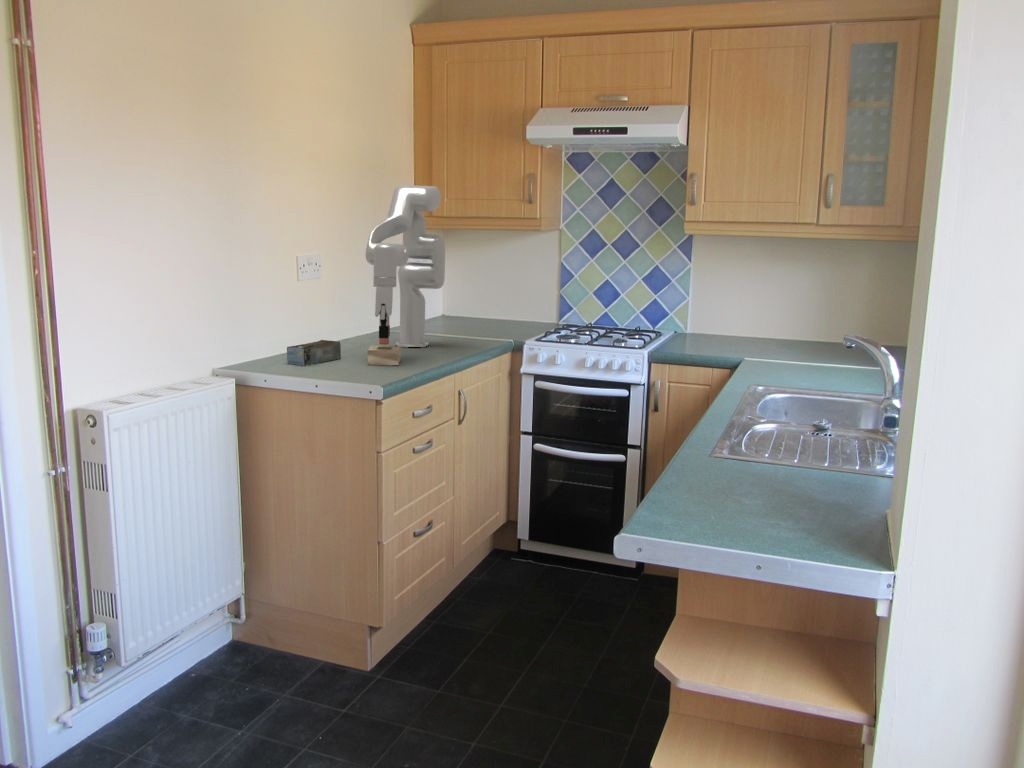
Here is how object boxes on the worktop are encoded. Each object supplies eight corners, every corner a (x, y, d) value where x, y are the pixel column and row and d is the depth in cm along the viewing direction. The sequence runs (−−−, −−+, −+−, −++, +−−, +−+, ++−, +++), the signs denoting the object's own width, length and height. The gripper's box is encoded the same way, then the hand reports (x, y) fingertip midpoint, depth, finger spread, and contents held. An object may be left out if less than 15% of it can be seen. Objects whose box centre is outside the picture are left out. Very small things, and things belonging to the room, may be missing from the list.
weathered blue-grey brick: (285, 364, 282) (285, 344, 281) (323, 357, 299) (323, 338, 297) (304, 367, 278) (303, 347, 277) (342, 359, 295) (342, 340, 294)
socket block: (370, 360, 295) (371, 345, 294) (400, 360, 295) (400, 346, 294) (367, 365, 285) (367, 350, 284) (398, 365, 285) (398, 351, 284)
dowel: (379, 343, 290) (380, 316, 288) (389, 343, 290) (389, 316, 289) (378, 344, 287) (379, 317, 285) (388, 344, 287) (388, 317, 285)
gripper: (376, 280, 293) (375, 333, 296) (370, 283, 276) (370, 340, 280) (398, 281, 293) (397, 334, 296) (394, 284, 277) (393, 341, 280)
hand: (384, 336), depth 288 cm, fingers closed on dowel, 3 cm apart
